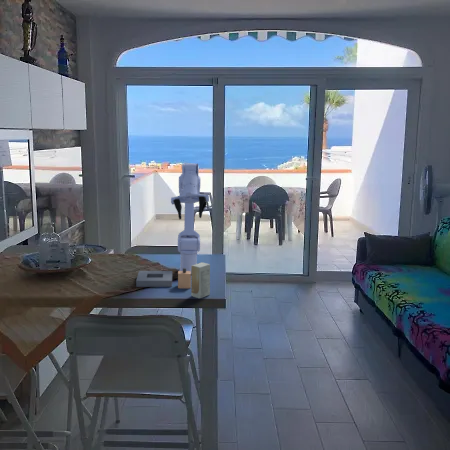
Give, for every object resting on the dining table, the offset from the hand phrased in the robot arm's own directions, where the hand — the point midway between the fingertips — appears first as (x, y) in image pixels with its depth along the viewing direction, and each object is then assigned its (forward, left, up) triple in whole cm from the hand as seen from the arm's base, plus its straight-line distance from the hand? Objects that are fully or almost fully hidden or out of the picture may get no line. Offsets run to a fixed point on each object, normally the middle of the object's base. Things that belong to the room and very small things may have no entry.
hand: (190, 217), depth 181 cm
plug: (-7, -2, -29) cm, 30 cm away
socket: (-14, -14, -29) cm, 35 cm away
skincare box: (+4, +4, -30) cm, 30 cm away
